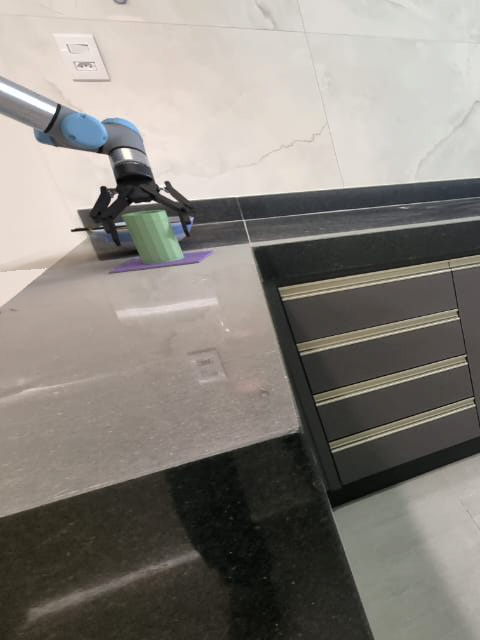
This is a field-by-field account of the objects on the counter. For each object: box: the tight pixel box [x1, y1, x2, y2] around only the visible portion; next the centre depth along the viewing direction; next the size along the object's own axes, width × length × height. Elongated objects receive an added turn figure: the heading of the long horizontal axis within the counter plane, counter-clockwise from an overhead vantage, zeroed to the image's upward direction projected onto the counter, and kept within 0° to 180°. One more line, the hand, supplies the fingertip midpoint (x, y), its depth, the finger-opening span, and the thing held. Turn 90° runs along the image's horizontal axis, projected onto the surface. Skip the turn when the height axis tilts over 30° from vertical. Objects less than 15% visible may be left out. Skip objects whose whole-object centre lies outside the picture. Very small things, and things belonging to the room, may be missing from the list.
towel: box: [108, 250, 214, 274], centre depth 136 cm, size 18×14×1 cm
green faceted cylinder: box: [121, 209, 184, 264], centre depth 133 cm, size 8×8×12 cm
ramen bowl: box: [70, 215, 194, 252], centre depth 151 cm, size 25×23×8 cm
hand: (152, 238), depth 132 cm, fingers open, 13 cm apart
